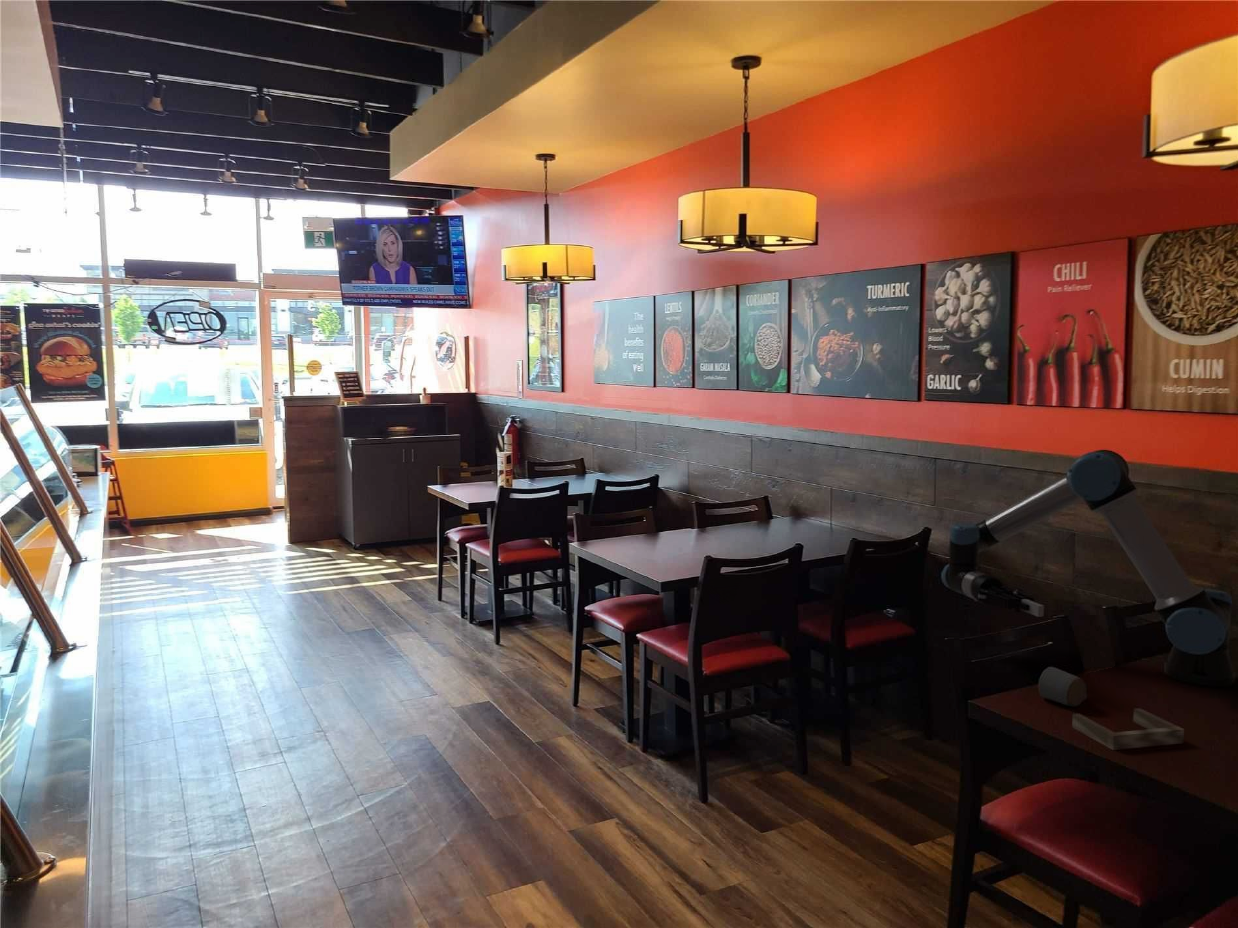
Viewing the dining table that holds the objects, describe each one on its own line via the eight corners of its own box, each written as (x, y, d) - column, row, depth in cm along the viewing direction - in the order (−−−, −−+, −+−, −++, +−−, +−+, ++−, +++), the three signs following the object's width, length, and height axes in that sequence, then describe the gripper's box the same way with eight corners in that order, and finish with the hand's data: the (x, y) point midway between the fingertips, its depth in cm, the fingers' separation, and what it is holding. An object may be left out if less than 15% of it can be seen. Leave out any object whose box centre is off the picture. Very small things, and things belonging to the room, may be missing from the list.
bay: (1138, 721, 195) (1139, 708, 195) (1183, 742, 184) (1184, 729, 183) (1072, 727, 192) (1072, 714, 192) (1112, 749, 180) (1113, 735, 180)
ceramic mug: (1068, 711, 202) (1070, 678, 201) (1036, 699, 209) (1038, 668, 208) (1096, 703, 207) (1098, 671, 206) (1063, 692, 214) (1065, 662, 213)
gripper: (1003, 600, 239) (1063, 624, 216) (960, 602, 236) (1016, 627, 213) (1005, 573, 238) (1065, 595, 215) (962, 575, 235) (1018, 597, 212)
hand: (1040, 611), depth 214 cm, fingers closed
